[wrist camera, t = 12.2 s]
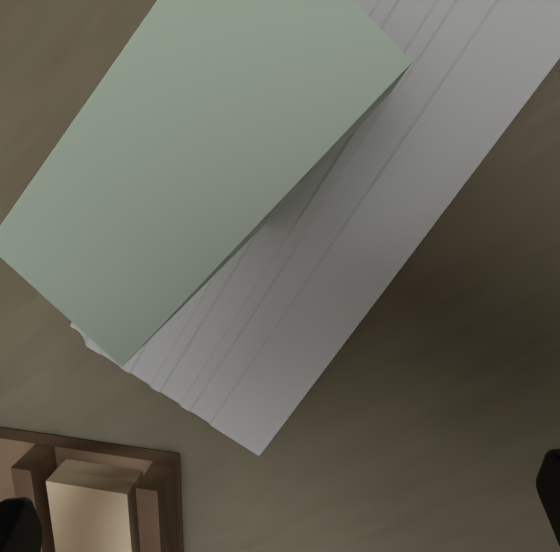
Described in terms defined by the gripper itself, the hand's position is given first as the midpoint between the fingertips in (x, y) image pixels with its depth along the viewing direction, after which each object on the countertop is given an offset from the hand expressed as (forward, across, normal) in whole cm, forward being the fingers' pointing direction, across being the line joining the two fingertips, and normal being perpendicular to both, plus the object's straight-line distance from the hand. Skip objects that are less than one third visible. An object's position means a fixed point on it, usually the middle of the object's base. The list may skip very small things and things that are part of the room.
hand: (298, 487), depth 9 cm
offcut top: (+10, +8, +15) cm, 20 cm away
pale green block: (+12, -1, -3) cm, 12 cm away
